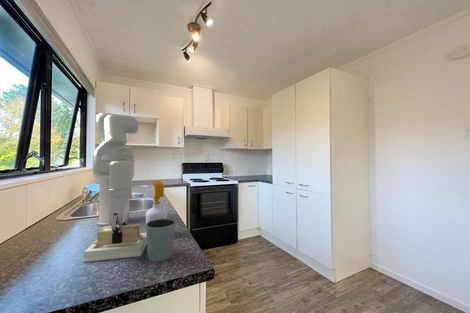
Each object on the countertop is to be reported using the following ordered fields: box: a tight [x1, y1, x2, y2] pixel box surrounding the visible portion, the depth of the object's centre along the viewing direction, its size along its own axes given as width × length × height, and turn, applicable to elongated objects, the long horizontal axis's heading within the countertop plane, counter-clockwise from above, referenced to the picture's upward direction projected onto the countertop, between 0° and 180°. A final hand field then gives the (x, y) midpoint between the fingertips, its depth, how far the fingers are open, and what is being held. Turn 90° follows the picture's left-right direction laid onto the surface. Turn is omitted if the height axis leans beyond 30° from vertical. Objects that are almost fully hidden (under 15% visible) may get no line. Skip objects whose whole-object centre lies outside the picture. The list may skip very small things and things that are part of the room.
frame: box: [97, 223, 141, 246], centre depth 76 cm, size 6×13×5 cm, turn 103°
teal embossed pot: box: [145, 217, 177, 263], centre depth 71 cm, size 10×10×12 cm
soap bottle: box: [145, 180, 168, 224], centre depth 91 cm, size 9×9×25 cm
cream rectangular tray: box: [82, 232, 147, 263], centre depth 76 cm, size 15×18×4 cm
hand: (120, 239), depth 76 cm, fingers closed on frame, 5 cm apart
